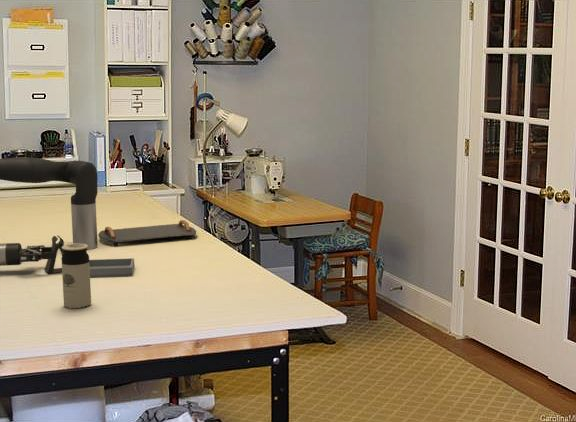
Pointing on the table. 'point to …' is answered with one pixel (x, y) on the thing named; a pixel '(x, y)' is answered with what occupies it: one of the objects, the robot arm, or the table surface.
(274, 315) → the table surface
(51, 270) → the phone stand
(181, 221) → the serving board
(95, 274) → the tray
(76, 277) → the travel mug
